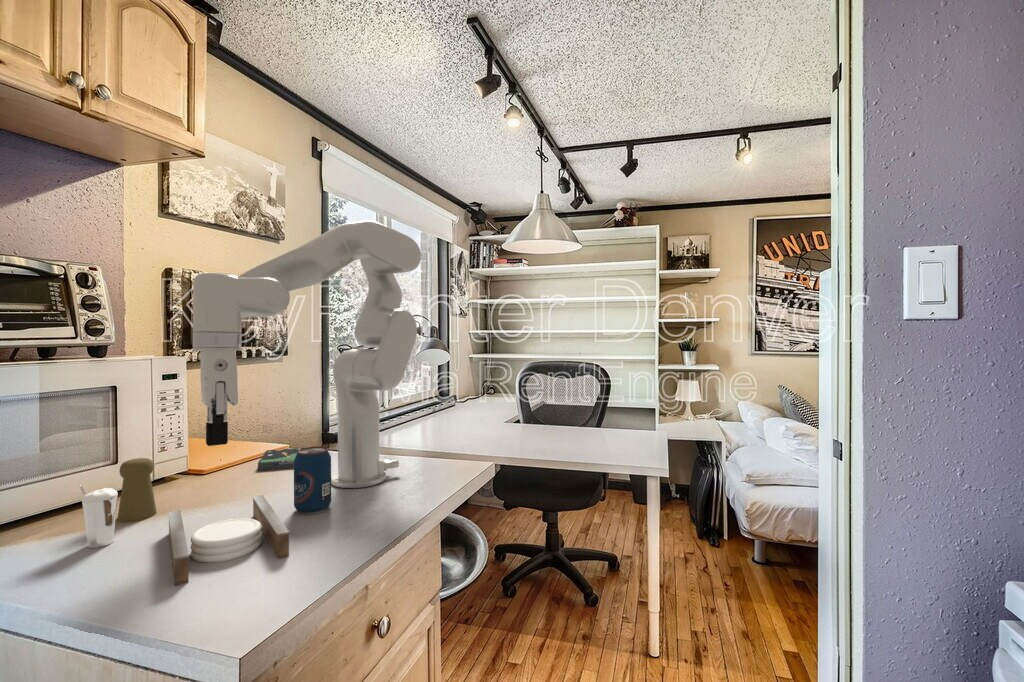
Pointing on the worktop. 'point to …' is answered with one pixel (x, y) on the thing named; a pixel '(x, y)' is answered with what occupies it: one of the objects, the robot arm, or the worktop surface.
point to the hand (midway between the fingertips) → (216, 444)
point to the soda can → (312, 480)
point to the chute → (261, 512)
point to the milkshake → (99, 516)
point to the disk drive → (277, 459)
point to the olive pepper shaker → (136, 491)
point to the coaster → (226, 540)
